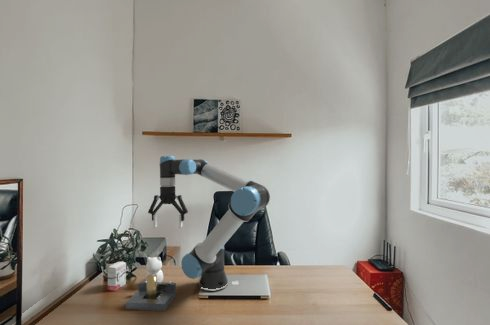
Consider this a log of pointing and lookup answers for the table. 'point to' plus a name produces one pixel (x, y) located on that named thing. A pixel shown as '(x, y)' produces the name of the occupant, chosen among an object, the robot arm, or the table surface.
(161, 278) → the cat figurine
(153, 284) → the sleeve
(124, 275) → the ink box
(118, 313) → the table surface
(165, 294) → the jig
